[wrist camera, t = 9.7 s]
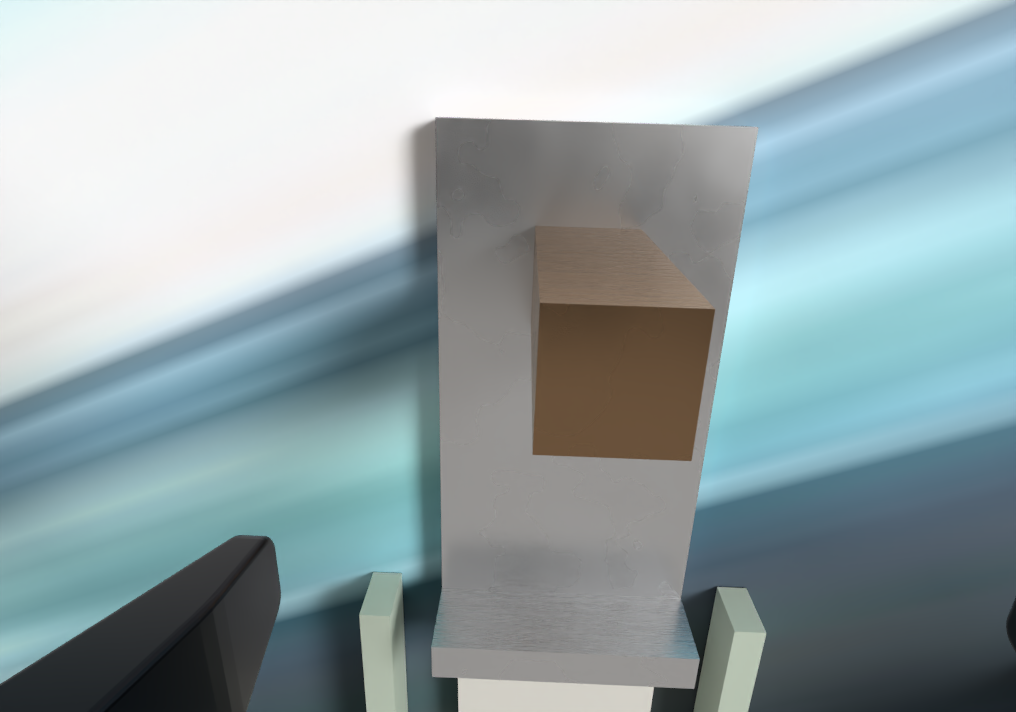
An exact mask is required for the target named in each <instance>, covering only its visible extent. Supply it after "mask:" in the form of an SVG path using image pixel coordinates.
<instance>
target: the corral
mask: <svg viewBox="0 0 1016 712" xmlns="http://www.w3.org/2000/svg"><path fill="white" fill-rule="evenodd" d="M359 619H360V632H361V645H362V658H363V671H364V684H365V697H366V710H367V712H408V704H407V681H406V658H405V635H404V612H403V589H402V573H383V572H373V575H372V578H371V581H370V584H369V587H368V590H367V593H366V596H365V599H364V602H363V605H362V608H361V611H360V614H359ZM765 637H766V631H765V629H764V627H763V624H762V622H761V620H760V618H759V616H758V613H757V611H756V609H755V607H754V605H753V602H752V600H751V598H750V596H749V593H748V591H747V589H746V588H731V587H717V590H716V596H715V601H714V606H713V611H712V617H711V622H710V627H709V632H708V638H707V643H706V648H705V653H704V659H703V664H702V669H701V674H700V680H699V685H698V690H697V695H696V701H695V706H694V711H693V712H748V709H749V705H750V701H751V696H752V692H753V688H754V684H755V679H756V675H757V671H758V667H759V662H760V658H761V654H762V650H763V645H764V641H765Z"/></svg>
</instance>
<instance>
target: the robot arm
mask: <svg viewBox="0 0 1016 712" xmlns="http://www.w3.org/2000/svg"><path fill="white" fill-rule="evenodd" d="M280 598H281V590H280V582H279V575H278V567H277V560H276V553H275V547H274V543H273V541H272V540H271V539H270V538H269V537H267V536H251V535H238V536H235V537H233V538H231V539H229V540H228V541H226V542H224V543H223V544H221V545H220V546H218V547H217V548H215V549H213V550H212V551H210V552H209V553H207V554H205V555H204V556H202V557H201V558H199V559H198V560H196V561H194V562H193V563H191V564H190V565H188V566H186V567H185V568H183V569H182V570H180V571H179V572H177V573H175V574H174V575H172V576H171V577H169V578H167V579H166V580H164V581H163V582H161V583H160V584H158V585H156V586H155V587H153V588H152V589H150V590H148V591H147V592H145V593H144V594H142V595H141V596H139V597H137V598H136V599H134V600H133V601H131V602H129V603H128V604H126V605H125V606H123V607H122V608H120V609H118V610H117V611H115V612H114V613H112V614H110V615H109V616H107V617H106V618H104V619H103V620H101V621H99V622H98V623H96V624H95V625H93V626H91V627H90V628H88V629H87V630H85V631H84V632H82V633H80V634H79V635H77V636H76V637H74V638H72V639H71V640H69V641H68V642H66V643H65V644H63V645H61V646H60V647H58V648H57V649H55V650H53V651H52V652H50V653H49V654H47V655H46V656H44V657H42V658H41V659H39V660H38V661H36V662H34V663H33V664H31V665H30V666H28V667H27V668H25V669H23V670H22V671H20V672H19V673H17V674H15V675H14V676H12V677H11V678H9V679H8V680H6V681H4V682H3V683H1V684H0V712H246V711H247V707H248V704H249V701H250V698H251V695H252V692H253V689H254V685H255V682H256V679H257V676H258V673H259V670H260V667H261V663H262V660H263V657H264V654H265V651H266V648H267V645H268V642H269V638H270V635H271V632H272V629H273V626H274V623H275V620H276V616H277V613H278V610H279V605H280ZM1006 629H1007V634H1008V638H1009V641H1010V643H1011V645H1012V647H1013V648H1014V650H1015V652H1016V598H1015V601H1014V603H1013V605H1012V608H1011V610H1010V612H1009V615H1008V618H1007V622H1006Z"/></svg>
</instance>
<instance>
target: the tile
mask: <svg viewBox="0 0 1016 712" xmlns="http://www.w3.org/2000/svg"><path fill="white" fill-rule="evenodd" d="M653 690H654V687H643V686H621V685H599V684H577V683H556V682H534V681H512V680H490V679H468V678H458V712H650V711H651V704H652V697H653Z"/></svg>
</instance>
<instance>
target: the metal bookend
mask: <svg viewBox="0 0 1016 712" xmlns="http://www.w3.org/2000/svg"><path fill="white" fill-rule="evenodd" d="M435 118H436V190H437V262H438V333H439V405H440V477H441V549H442V591H441V596H440V602H439V608H438V613H437V619H436V624H435V630H434V636H433V641H432V647H431V650H432V677H446V678H468V679H490V680H512V681H534V682H556V683H577V684H599V685H621V686H643V687H665V688H687V689H694V687H695V682H696V677H697V671H698V666H699V661H700V658H699V655H698V652H697V649H696V646H695V642H694V639H693V636H692V633H691V629H690V626H689V623H688V620H687V617H686V613H685V610H684V607H683V604H682V601H681V594H682V588H683V581H684V575H685V569H686V563H687V557H688V551H689V545H690V539H691V533H692V527H693V521H694V515H695V509H696V503H697V497H698V490H699V484H700V478H701V472H702V466H703V460H704V454H705V448H706V442H707V436H708V430H709V424H710V418H711V412H712V406H713V400H714V393H715V387H716V381H717V375H718V369H719V363H720V357H721V351H722V345H723V339H724V333H725V327H726V321H727V315H728V309H729V302H730V296H731V290H732V284H733V278H734V272H735V266H736V260H737V254H738V248H739V242H740V236H741V230H742V224H743V218H744V212H745V205H746V199H747V193H748V187H749V181H750V175H751V169H752V163H753V157H754V151H755V145H756V139H757V133H758V127H750V126H723V125H691V124H658V123H625V122H592V121H559V120H526V119H493V118H460V117H435Z"/></svg>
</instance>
